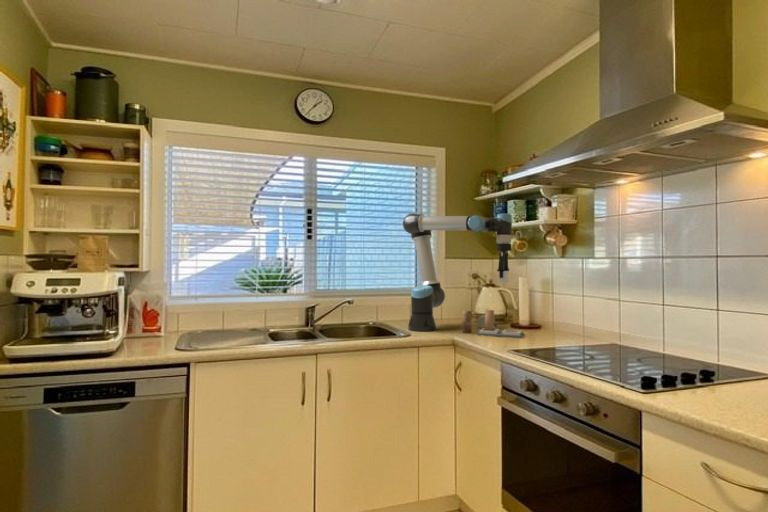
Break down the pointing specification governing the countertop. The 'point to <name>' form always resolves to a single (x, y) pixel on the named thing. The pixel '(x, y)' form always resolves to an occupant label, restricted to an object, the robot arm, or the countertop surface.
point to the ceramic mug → (482, 322)
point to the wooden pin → (466, 321)
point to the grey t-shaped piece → (491, 331)
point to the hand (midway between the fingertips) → (503, 283)
